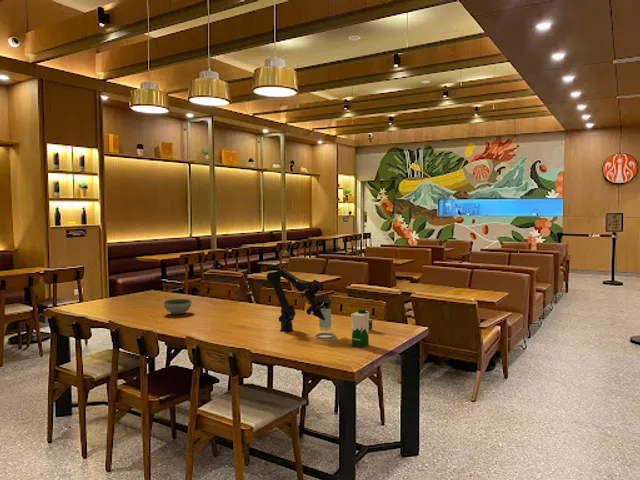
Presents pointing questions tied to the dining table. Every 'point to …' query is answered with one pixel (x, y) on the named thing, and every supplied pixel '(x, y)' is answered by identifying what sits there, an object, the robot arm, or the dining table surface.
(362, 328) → the milk carton
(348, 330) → the dining table surface
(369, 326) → the medicine bottle
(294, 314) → the robot arm
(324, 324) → the gray block
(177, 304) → the bowl
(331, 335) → the coaster
